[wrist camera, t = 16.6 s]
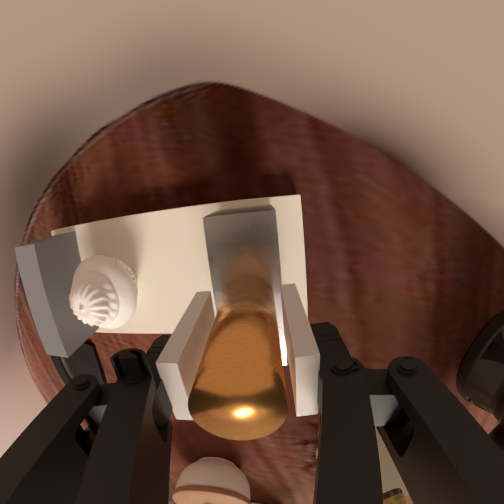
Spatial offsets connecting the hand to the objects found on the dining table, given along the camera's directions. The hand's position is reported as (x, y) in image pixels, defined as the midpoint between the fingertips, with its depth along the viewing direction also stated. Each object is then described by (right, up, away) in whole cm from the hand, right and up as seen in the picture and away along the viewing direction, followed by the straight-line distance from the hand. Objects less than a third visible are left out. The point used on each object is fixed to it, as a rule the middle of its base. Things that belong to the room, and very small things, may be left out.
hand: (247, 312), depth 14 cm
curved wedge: (-23, -13, +15) cm, 30 cm away
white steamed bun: (-12, +1, +9) cm, 14 cm away
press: (-7, +2, +10) cm, 13 cm away
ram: (0, +2, +8) cm, 8 cm away
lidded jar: (-5, -29, +17) cm, 34 cm away
